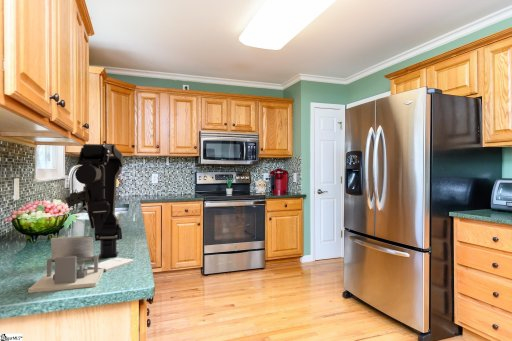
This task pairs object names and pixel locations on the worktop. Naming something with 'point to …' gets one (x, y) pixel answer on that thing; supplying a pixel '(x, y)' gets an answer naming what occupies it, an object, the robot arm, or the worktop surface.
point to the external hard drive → (112, 264)
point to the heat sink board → (78, 284)
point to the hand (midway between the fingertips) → (95, 230)
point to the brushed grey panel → (72, 247)
